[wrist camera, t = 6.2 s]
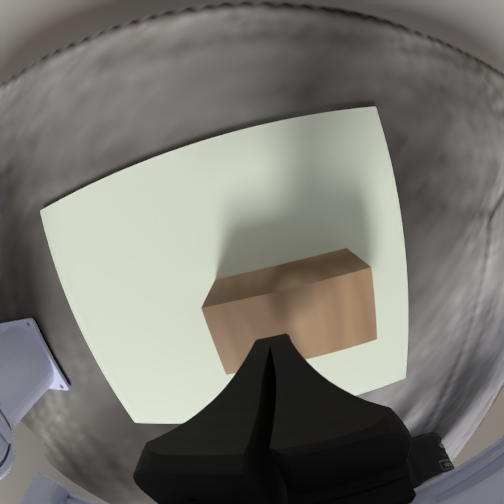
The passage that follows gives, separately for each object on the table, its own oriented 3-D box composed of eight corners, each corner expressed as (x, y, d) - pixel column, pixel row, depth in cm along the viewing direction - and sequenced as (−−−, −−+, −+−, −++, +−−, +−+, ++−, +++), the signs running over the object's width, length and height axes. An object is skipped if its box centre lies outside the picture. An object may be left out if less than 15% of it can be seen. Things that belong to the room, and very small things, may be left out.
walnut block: (226, 374, 13) (377, 339, 12) (201, 307, 12) (371, 267, 12) (233, 336, 17) (354, 307, 16) (214, 279, 16) (346, 248, 16)
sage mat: (136, 419, 20) (135, 422, 20) (43, 210, 16) (39, 210, 16) (403, 375, 18) (405, 377, 18) (373, 107, 14) (375, 106, 13)
